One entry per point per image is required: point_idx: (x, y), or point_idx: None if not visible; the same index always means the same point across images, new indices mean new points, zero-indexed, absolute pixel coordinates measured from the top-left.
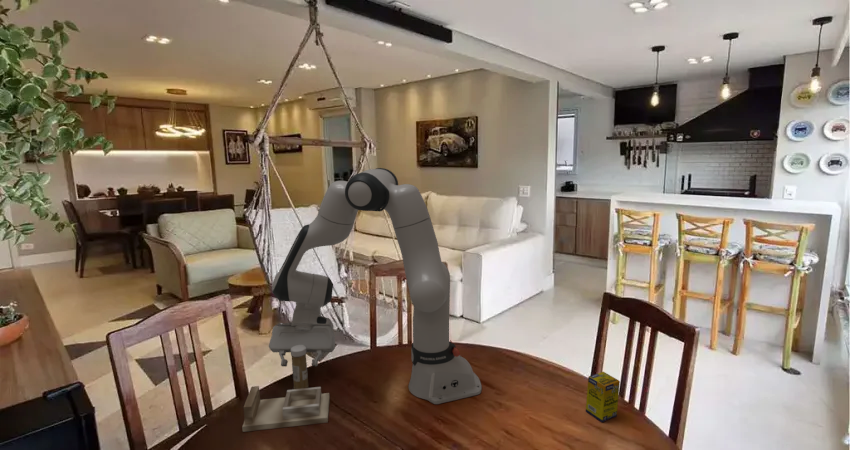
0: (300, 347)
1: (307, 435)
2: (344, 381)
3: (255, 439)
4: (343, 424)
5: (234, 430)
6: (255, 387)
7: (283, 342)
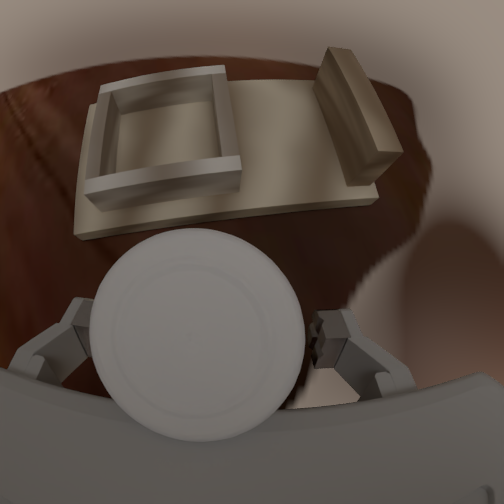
0: (159, 349)
1: (148, 73)
2: None
3: (282, 67)
4: (60, 114)
5: None
6: (385, 142)
7: (430, 449)
